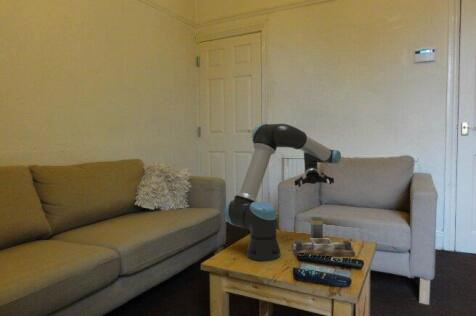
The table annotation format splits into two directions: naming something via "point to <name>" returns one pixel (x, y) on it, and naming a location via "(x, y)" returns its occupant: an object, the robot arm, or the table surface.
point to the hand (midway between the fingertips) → (315, 185)
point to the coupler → (316, 227)
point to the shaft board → (324, 248)
